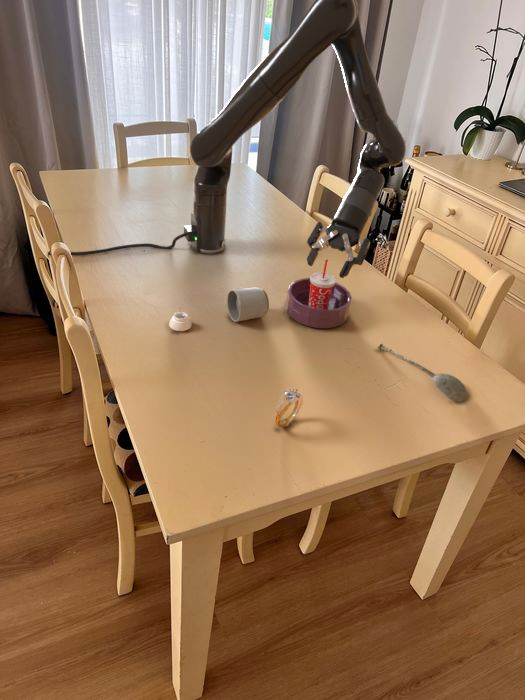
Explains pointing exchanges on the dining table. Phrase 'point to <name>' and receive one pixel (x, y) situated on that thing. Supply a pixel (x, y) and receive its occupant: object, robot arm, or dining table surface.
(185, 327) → the white jar
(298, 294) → the bowl
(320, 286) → the beverage cup
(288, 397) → the ring
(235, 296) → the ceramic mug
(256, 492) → the dining table surface
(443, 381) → the soupspoon
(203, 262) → the dining table surface
